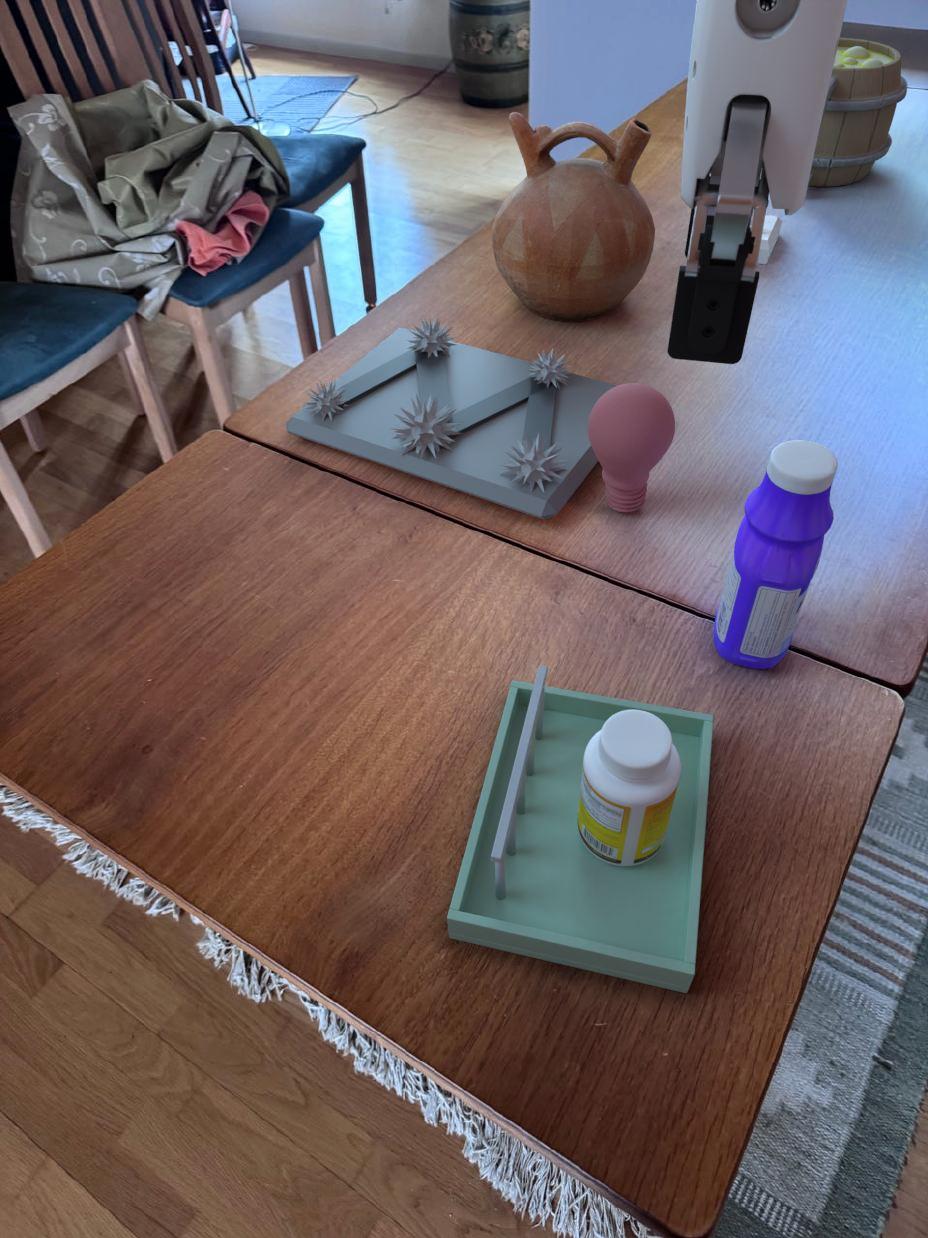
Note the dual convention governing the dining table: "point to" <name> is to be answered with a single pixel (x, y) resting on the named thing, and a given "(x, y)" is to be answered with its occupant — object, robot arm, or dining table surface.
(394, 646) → the dining table surface
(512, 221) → the jug
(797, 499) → the bottle
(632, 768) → the supplement bottle
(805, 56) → the robot arm
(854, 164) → the mug
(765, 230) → the white stepped block
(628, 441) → the light bulb
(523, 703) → the dish rack
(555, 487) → the decorative plate
